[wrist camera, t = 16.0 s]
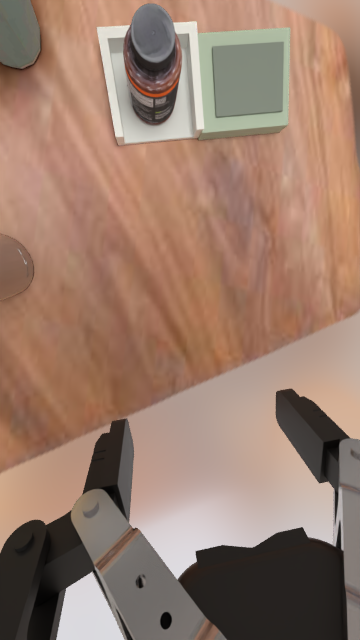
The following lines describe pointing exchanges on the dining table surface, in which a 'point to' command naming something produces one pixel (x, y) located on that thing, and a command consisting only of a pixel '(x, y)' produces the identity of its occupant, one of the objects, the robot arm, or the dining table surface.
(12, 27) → the disposable coffee cup
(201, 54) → the green rectangular block
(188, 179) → the dining table surface
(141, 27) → the supplement bottle
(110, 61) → the chute bracket
